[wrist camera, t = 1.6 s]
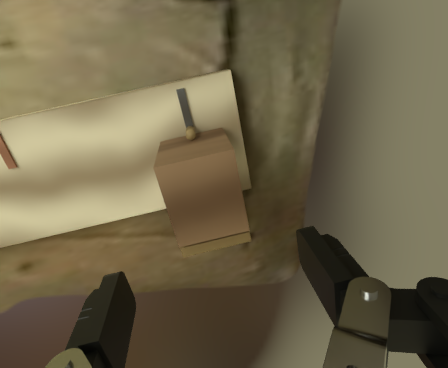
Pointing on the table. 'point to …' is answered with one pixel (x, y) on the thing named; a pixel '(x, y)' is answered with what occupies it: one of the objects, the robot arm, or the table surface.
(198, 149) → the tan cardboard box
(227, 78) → the board
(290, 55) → the table surface
